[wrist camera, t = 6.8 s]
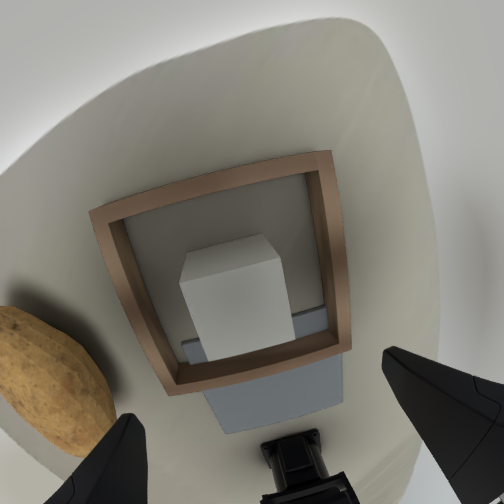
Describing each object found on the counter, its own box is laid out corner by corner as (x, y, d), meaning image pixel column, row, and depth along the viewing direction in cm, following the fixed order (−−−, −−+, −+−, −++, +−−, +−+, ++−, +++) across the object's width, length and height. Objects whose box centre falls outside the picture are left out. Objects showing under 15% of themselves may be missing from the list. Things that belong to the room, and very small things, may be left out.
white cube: (276, 299, 20) (295, 339, 15) (207, 317, 19) (208, 361, 15) (262, 232, 18) (280, 257, 13) (186, 252, 18) (179, 283, 13)
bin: (338, 332, 21) (351, 349, 19) (171, 374, 20) (168, 396, 18) (315, 151, 17) (331, 149, 15) (103, 205, 16) (88, 211, 14)
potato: (43, 255, 16) (-23, 303, 9) (153, 388, 21) (141, 464, 13) (-7, 308, 16) (-54, 354, 9) (86, 414, 21) (67, 473, 14)
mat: (341, 399, 24) (342, 401, 24) (225, 431, 24) (225, 434, 23) (336, 301, 20) (338, 303, 20) (181, 342, 20) (181, 345, 19)
